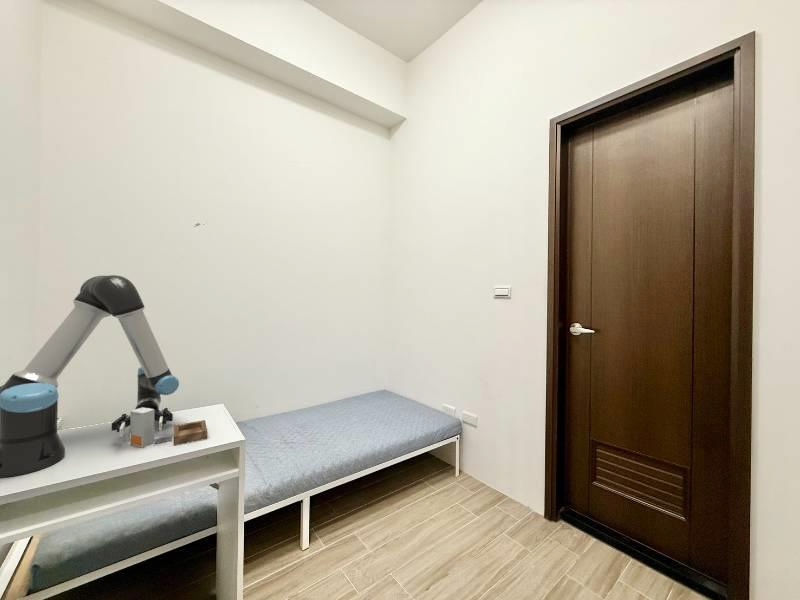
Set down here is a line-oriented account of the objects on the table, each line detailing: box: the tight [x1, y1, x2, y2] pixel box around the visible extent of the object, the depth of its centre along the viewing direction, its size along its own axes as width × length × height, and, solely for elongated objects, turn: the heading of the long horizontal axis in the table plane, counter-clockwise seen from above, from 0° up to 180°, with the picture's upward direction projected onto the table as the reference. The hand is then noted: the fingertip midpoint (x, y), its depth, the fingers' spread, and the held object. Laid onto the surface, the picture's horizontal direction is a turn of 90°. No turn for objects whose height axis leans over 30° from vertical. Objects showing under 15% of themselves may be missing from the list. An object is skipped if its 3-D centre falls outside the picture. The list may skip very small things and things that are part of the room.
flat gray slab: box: [153, 435, 173, 445], centre depth 115 cm, size 5×4×1 cm
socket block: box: [172, 419, 208, 446], centre depth 119 cm, size 10×12×3 cm
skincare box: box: [129, 407, 155, 449], centre depth 112 cm, size 6×4×12 cm
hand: (141, 429), depth 109 cm, fingers open, 10 cm apart
